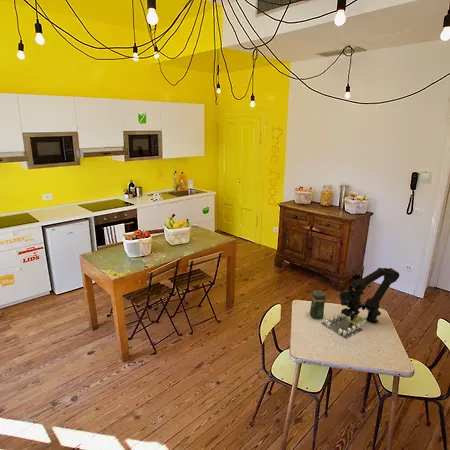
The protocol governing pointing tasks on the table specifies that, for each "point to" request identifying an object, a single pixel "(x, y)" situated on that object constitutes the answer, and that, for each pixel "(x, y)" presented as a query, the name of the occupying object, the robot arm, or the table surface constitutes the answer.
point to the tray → (362, 320)
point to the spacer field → (342, 326)
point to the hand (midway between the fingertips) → (351, 320)
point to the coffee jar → (317, 304)
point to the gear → (356, 319)
